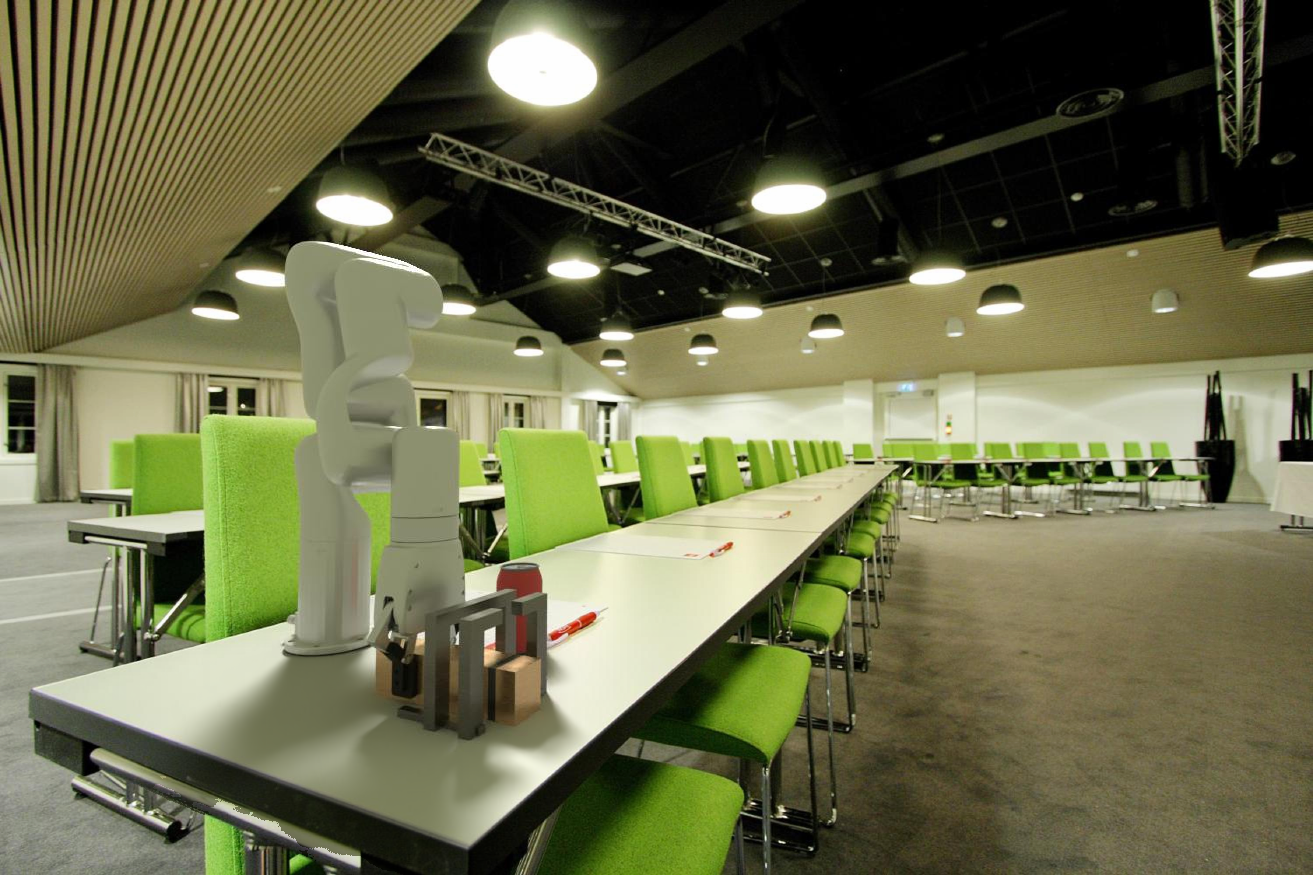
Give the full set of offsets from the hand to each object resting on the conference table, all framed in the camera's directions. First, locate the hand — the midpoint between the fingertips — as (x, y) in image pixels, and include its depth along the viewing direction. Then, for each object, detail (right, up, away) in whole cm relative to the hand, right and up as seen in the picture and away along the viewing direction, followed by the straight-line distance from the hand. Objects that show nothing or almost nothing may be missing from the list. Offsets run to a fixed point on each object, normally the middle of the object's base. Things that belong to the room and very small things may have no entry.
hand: (422, 685), depth 68 cm
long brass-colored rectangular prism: (+5, -1, -2) cm, 5 cm away
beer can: (+7, -2, +16) cm, 18 cm away
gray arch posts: (+7, -1, -3) cm, 8 cm away
